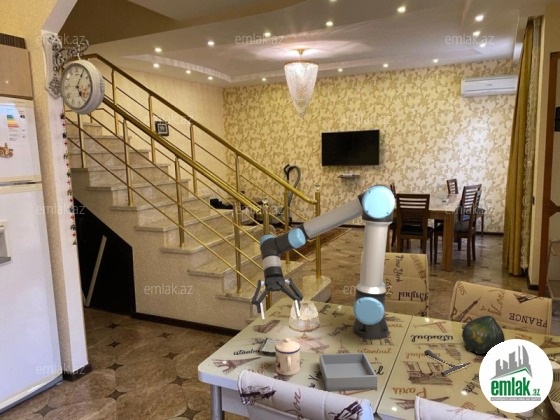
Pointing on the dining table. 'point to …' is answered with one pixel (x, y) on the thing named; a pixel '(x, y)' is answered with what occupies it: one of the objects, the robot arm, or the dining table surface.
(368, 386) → the tray
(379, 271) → the robot arm
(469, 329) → the squash
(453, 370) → the dark grey rake
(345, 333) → the dining table surface
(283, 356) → the teacup with lid
